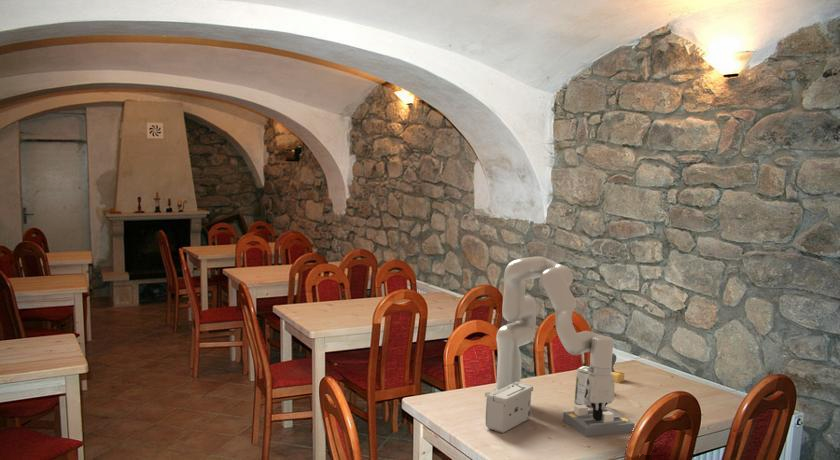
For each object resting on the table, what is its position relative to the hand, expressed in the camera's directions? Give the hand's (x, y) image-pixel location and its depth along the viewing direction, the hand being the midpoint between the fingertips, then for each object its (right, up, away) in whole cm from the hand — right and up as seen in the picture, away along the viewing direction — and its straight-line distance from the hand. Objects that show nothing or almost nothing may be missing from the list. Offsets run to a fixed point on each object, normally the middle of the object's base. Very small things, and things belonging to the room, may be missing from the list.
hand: (597, 419), depth 238 cm
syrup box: (+2, -2, +29) cm, 29 cm away
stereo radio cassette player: (-32, -3, +4) cm, 32 cm away
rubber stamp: (+23, 0, +62) cm, 66 cm away
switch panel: (+2, -4, +5) cm, 7 cm away
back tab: (-4, 0, +7) cm, 8 cm away
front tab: (+4, -1, +1) cm, 4 cm away
